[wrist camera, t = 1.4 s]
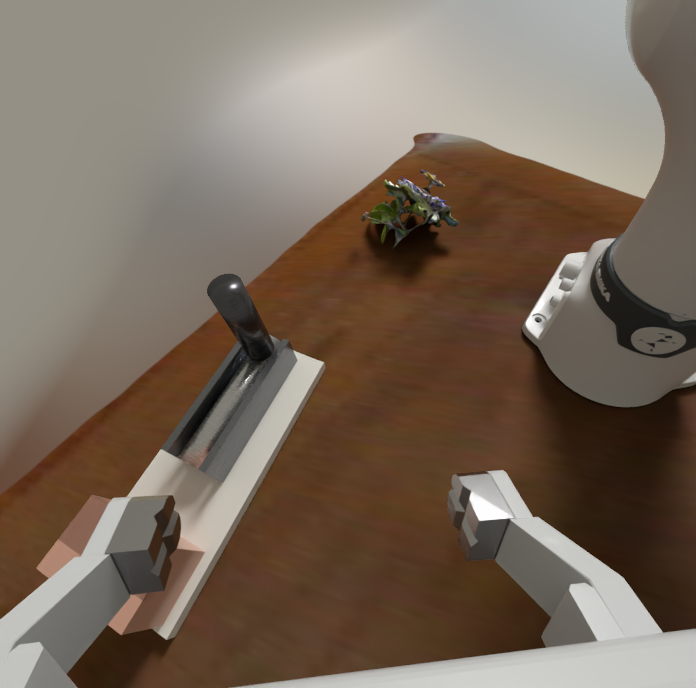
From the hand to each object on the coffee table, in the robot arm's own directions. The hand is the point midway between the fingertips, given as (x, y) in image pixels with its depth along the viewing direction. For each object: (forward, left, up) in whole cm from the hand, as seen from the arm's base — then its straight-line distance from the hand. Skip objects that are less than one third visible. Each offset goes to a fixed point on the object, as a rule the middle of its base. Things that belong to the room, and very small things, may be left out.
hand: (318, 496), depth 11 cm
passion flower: (-42, -12, -30) cm, 53 cm away
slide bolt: (-7, -19, -27) cm, 34 cm away
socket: (+10, -19, -28) cm, 35 cm away
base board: (-1, -19, -30) cm, 35 cm away
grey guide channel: (-7, -19, -28) cm, 35 cm away
